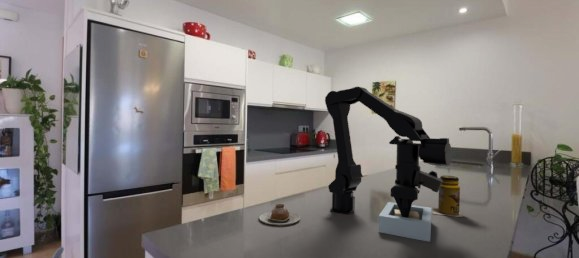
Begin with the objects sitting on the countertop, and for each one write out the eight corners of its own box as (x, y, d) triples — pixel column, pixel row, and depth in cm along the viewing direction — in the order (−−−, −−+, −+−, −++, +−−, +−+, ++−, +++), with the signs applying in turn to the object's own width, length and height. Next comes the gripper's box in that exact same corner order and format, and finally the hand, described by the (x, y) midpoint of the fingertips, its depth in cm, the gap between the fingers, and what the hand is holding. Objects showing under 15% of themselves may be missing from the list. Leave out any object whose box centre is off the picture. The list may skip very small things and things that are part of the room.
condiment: (463, 217, 86) (464, 179, 86) (433, 214, 89) (434, 177, 89) (456, 211, 93) (457, 175, 93) (429, 208, 96) (429, 173, 96)
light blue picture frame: (378, 232, 72) (378, 215, 72) (388, 215, 86) (388, 201, 86) (430, 241, 66) (430, 223, 66) (431, 222, 80) (431, 207, 80)
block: (395, 222, 75) (395, 213, 75) (394, 218, 79) (394, 209, 79) (419, 225, 73) (419, 216, 73) (417, 220, 77) (417, 211, 77)
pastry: (307, 220, 82) (308, 204, 82) (283, 231, 72) (283, 214, 72) (276, 212, 89) (276, 198, 89) (250, 222, 79) (250, 206, 79)
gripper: (441, 167, 64) (439, 234, 64) (440, 160, 81) (439, 213, 81) (390, 164, 69) (389, 225, 69) (399, 157, 86) (398, 208, 86)
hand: (406, 217), depth 76 cm, fingers closed on block, 4 cm apart
